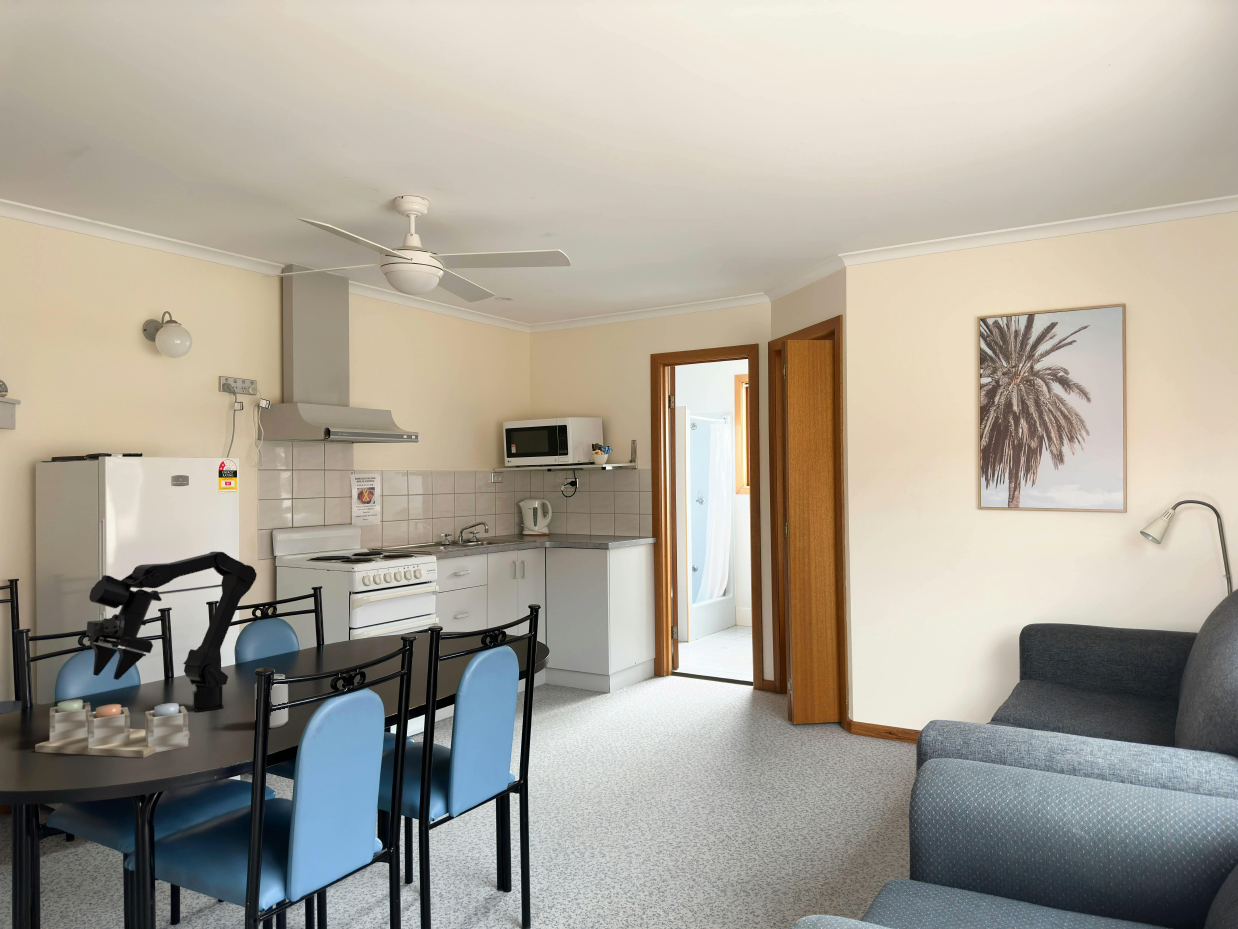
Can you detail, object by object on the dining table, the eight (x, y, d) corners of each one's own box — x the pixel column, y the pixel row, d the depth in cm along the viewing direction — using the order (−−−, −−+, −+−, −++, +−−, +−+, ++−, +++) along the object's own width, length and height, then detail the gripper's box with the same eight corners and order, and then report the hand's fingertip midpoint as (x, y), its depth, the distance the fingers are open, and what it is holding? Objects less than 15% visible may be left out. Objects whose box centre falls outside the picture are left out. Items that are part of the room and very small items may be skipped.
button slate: (177, 715, 189) (177, 702, 189) (179, 719, 185) (179, 706, 185) (153, 718, 186) (153, 705, 186) (155, 723, 182) (155, 710, 182)
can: (275, 730, 196) (275, 680, 196) (248, 729, 197) (247, 679, 197) (294, 721, 203) (294, 673, 203) (267, 720, 204) (267, 672, 205)
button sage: (82, 711, 194) (82, 698, 194) (82, 715, 190) (82, 702, 190) (57, 714, 191) (57, 701, 191) (57, 719, 187) (57, 706, 187)
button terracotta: (120, 716, 189) (120, 703, 189) (121, 720, 185) (121, 707, 185) (95, 719, 186) (95, 706, 186) (96, 724, 182) (96, 711, 182)
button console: (72, 732, 197) (72, 701, 197) (206, 738, 190) (206, 706, 190) (18, 751, 183) (18, 717, 183) (160, 758, 176) (160, 723, 176)
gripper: (80, 602, 200) (52, 666, 194) (121, 606, 190) (92, 674, 184) (124, 614, 209) (97, 676, 203) (165, 619, 199) (138, 684, 193)
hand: (105, 677), depth 196 cm, fingers open, 9 cm apart
